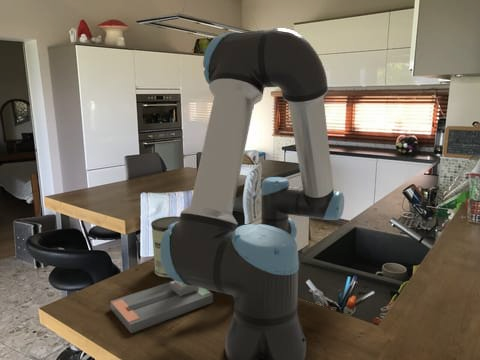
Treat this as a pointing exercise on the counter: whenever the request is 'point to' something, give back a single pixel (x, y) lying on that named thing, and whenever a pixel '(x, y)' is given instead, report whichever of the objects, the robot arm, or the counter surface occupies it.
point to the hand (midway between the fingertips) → (175, 262)
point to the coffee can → (157, 231)
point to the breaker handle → (182, 288)
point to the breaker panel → (156, 306)
